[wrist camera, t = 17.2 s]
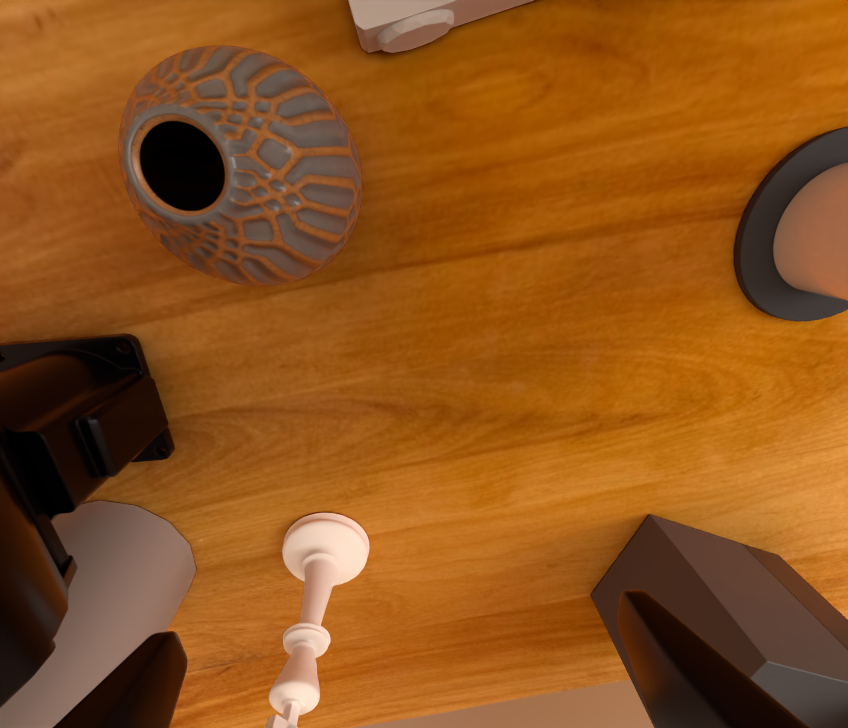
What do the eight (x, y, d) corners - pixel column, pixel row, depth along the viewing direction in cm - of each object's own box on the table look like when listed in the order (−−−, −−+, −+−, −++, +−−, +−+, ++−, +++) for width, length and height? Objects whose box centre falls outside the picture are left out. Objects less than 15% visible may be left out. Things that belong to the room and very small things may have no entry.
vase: (384, 114, 16) (369, 27, 8) (352, 284, 19) (316, 348, 11) (202, 61, 15) (-20, -97, 7) (193, 247, 18) (18, 285, 10)
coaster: (718, 325, 20) (723, 328, 20) (757, 132, 17) (764, 131, 17) (883, 312, 21) (892, 314, 20) (950, 119, 18) (962, 117, 17)
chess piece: (325, 589, 25) (281, 814, 16) (265, 542, 24) (178, 761, 15) (386, 548, 24) (378, 761, 15) (329, 497, 23) (279, 699, 14)
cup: (206, 610, 25) (94, 845, 16) (66, 615, 25) (-131, 859, 16) (178, 498, 22) (19, 708, 13) (18, 502, 22) (-263, 722, 13)
